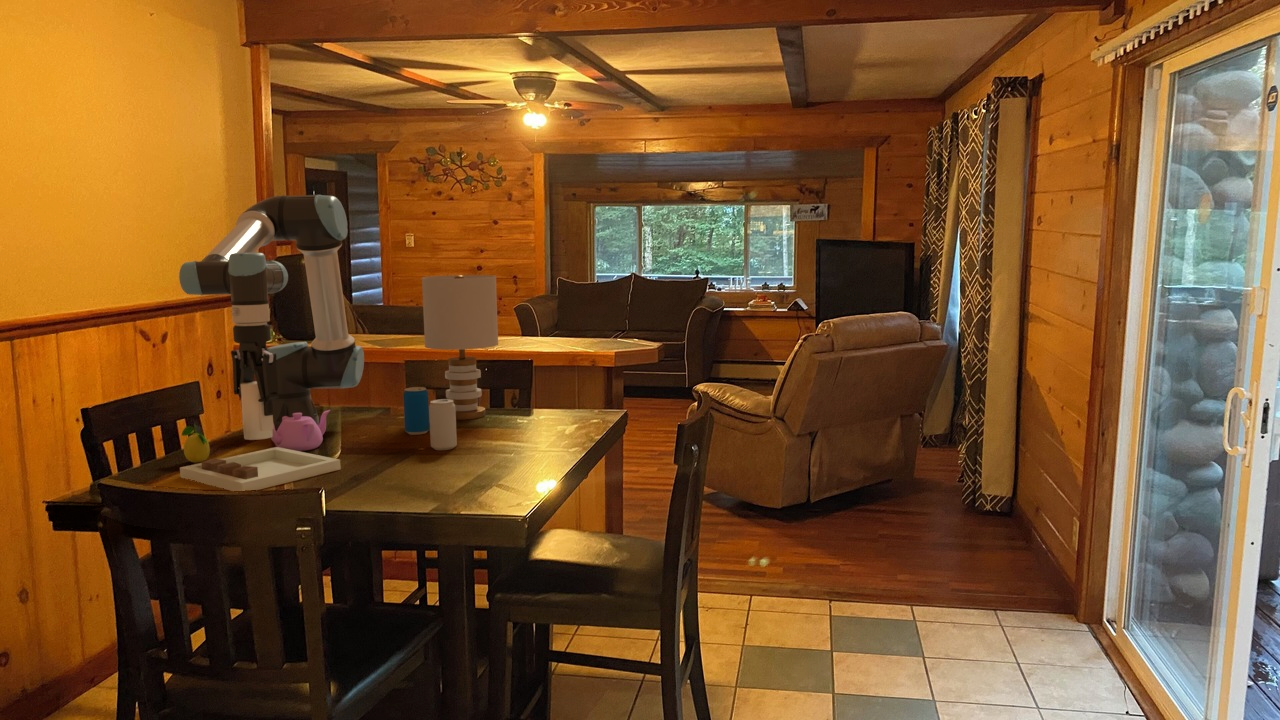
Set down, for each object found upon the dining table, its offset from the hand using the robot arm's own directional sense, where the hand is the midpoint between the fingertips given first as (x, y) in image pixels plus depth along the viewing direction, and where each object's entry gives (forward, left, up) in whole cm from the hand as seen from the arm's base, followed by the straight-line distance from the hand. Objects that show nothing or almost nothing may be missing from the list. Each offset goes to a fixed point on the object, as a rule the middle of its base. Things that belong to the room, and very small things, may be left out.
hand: (258, 428), depth 212 cm
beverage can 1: (-7, +51, -11) cm, 53 cm away
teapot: (-19, +23, -11) cm, 32 cm away
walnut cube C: (+6, -7, -10) cm, 14 cm away
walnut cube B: (0, -7, -10) cm, 13 cm away
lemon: (-23, -2, -11) cm, 26 cm away
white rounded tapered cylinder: (0, 0, -2) cm, 2 cm away
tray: (0, 0, -11) cm, 11 cm away
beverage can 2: (+13, +42, -11) cm, 45 cm away
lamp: (-14, +75, -11) cm, 77 cm away
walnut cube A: (-6, -7, -10) cm, 14 cm away
